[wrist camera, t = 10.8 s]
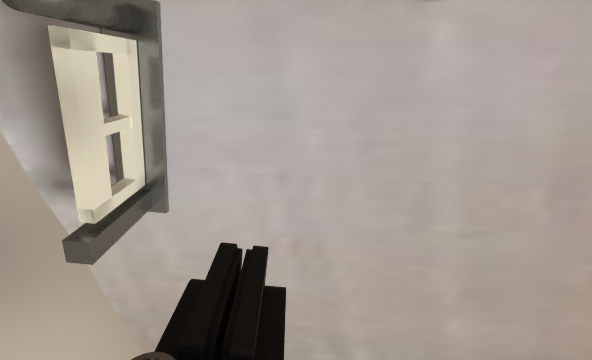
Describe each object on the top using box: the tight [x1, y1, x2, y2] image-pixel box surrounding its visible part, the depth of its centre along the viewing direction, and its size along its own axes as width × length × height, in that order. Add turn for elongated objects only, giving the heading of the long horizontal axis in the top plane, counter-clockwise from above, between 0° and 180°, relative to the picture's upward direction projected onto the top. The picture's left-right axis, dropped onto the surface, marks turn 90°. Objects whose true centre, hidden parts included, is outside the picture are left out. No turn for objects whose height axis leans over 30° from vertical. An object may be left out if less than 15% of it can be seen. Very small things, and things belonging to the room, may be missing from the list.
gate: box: [47, 25, 145, 224], centre depth 29 cm, size 17×2×10 cm, turn 172°
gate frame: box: [2, 0, 169, 265], centre depth 28 cm, size 25×6×14 cm, turn 173°
